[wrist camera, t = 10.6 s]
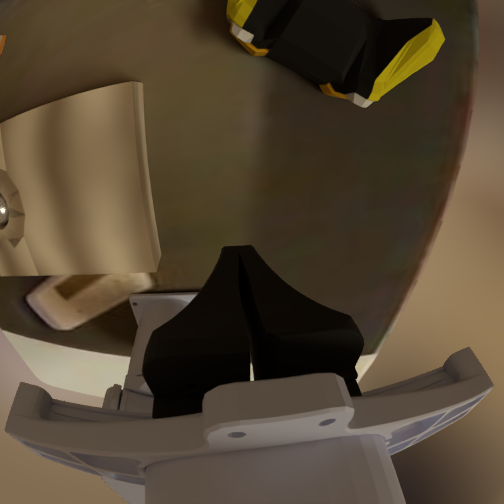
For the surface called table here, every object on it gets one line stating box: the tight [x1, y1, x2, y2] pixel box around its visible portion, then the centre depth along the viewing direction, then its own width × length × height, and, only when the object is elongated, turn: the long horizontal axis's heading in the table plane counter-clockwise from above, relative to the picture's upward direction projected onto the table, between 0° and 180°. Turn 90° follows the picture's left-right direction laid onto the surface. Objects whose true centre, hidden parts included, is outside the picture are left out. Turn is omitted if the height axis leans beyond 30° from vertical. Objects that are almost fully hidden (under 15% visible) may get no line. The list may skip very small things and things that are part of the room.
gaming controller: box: [226, 0, 445, 107], centre depth 12 cm, size 15×6×10 cm
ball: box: [0, 193, 9, 224], centre depth 16 cm, size 3×3×3 cm
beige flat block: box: [0, 81, 161, 276], centre depth 17 cm, size 20×14×2 cm
